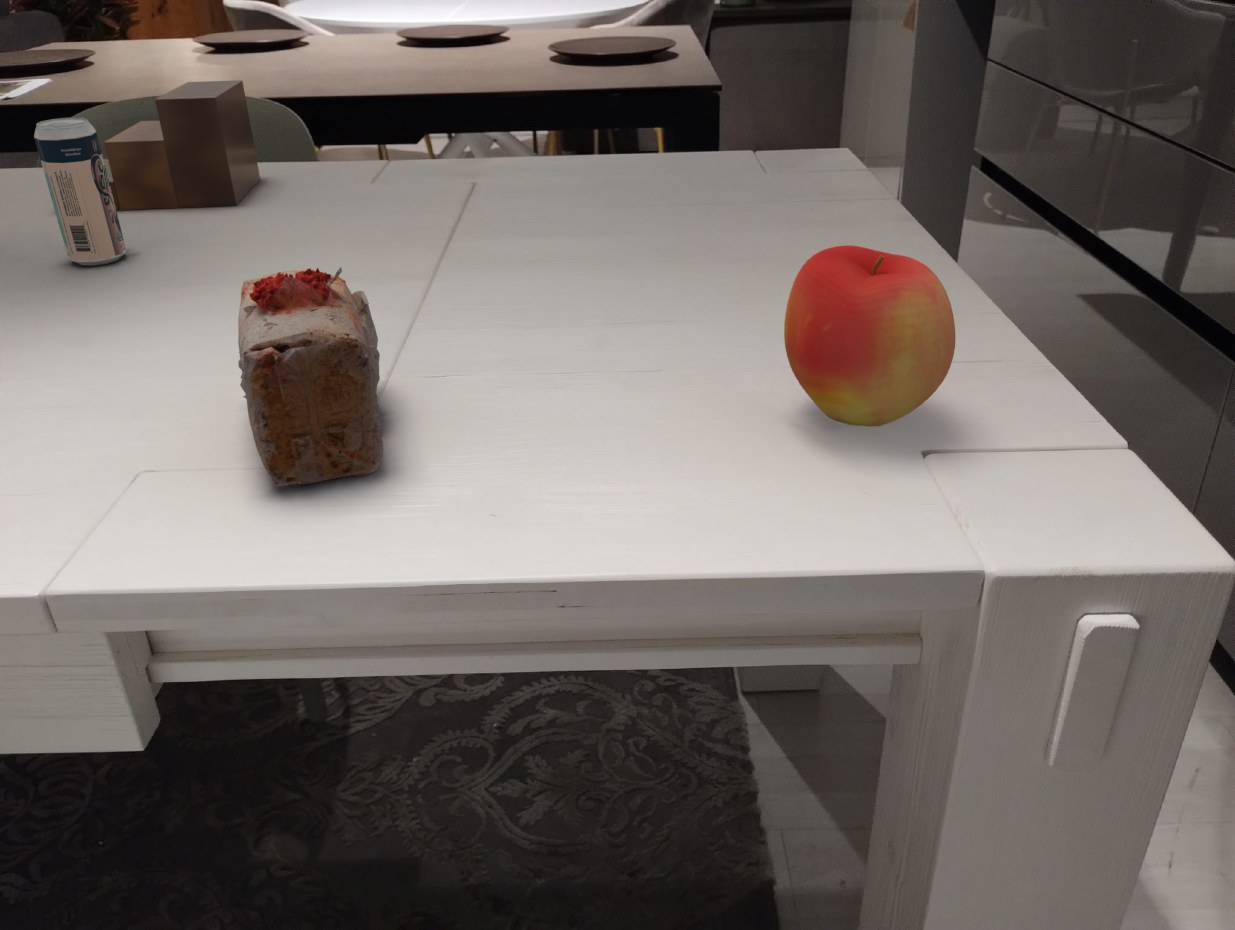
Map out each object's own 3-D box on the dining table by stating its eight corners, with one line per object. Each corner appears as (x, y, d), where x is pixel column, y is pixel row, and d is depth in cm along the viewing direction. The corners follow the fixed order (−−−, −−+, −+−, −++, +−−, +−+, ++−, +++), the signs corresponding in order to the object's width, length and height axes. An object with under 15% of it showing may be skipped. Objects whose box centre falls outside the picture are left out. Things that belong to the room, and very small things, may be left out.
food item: (249, 397, 65) (218, 246, 60) (375, 378, 67) (354, 231, 62) (259, 498, 54) (221, 322, 49) (410, 471, 56) (388, 300, 51)
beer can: (136, 258, 92) (102, 120, 86) (82, 271, 89) (43, 129, 83) (114, 248, 95) (79, 114, 89) (61, 260, 92) (21, 122, 86)
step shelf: (61, 212, 107) (30, 103, 101) (101, 185, 117) (75, 85, 112) (236, 205, 108) (215, 97, 103) (260, 179, 118) (242, 80, 113)
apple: (770, 445, 58) (781, 276, 53) (784, 379, 66) (795, 227, 61) (945, 461, 56) (973, 287, 51) (937, 390, 64) (960, 235, 59)
